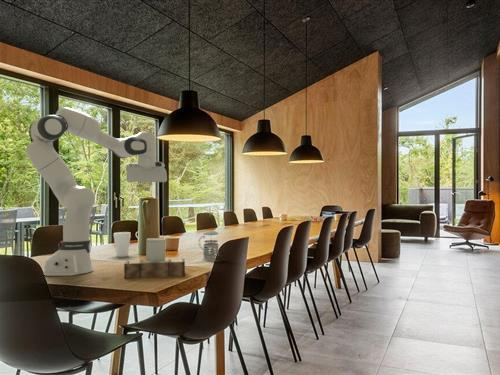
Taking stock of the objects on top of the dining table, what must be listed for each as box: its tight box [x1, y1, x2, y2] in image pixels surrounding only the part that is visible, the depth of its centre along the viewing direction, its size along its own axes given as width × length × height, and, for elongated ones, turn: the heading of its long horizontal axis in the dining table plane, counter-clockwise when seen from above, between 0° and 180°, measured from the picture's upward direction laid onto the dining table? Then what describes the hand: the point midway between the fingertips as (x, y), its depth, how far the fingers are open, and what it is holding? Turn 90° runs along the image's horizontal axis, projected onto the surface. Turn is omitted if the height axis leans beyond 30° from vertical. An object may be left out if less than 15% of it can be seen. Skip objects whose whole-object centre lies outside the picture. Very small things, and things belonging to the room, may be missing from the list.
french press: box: [198, 212, 220, 262], centre depth 227 cm, size 10×12×25 cm
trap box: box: [123, 258, 186, 279], centre depth 184 cm, size 25×9×7 cm, turn 99°
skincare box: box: [145, 237, 166, 262], centre depth 186 cm, size 8×7×16 cm
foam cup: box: [113, 231, 132, 258], centre depth 242 cm, size 10×9×13 cm
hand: (146, 190), depth 216 cm, fingers closed
